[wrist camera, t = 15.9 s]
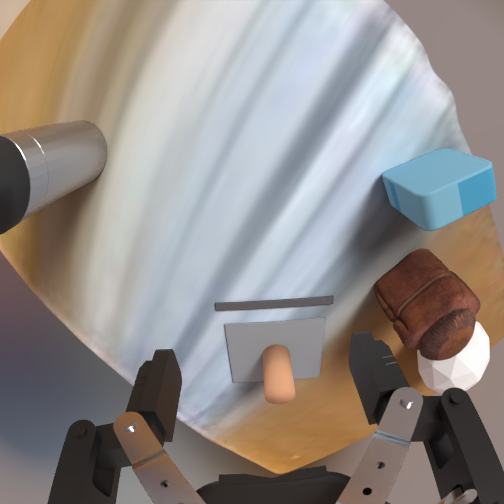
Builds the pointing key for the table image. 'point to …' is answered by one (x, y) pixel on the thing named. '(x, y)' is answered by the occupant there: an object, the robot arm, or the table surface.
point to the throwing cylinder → (278, 375)
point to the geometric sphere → (457, 365)
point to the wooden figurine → (428, 306)
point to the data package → (440, 187)
